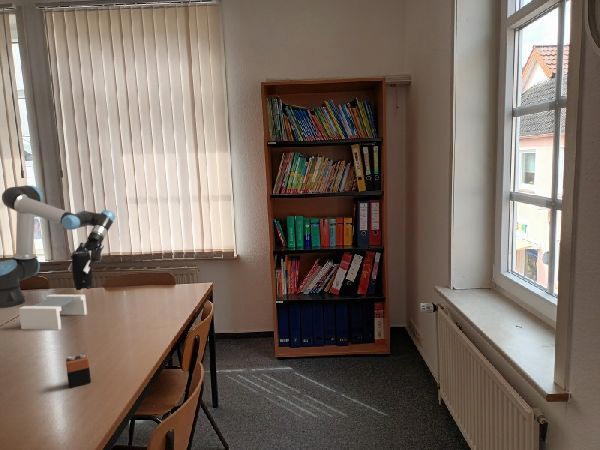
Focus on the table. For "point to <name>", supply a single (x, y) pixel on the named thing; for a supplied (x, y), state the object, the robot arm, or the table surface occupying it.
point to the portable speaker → (81, 270)
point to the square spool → (51, 311)
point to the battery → (78, 370)
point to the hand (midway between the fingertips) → (77, 271)
